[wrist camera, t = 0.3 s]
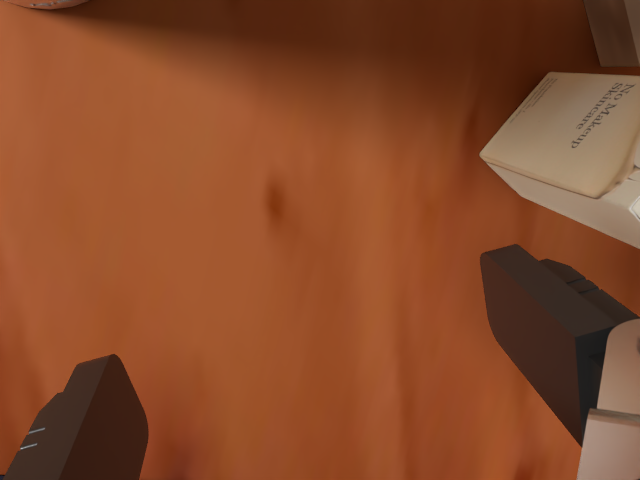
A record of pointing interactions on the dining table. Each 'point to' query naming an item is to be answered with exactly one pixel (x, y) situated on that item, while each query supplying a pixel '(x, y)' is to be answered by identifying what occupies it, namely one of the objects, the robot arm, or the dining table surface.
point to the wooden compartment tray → (615, 31)
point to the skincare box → (577, 150)
